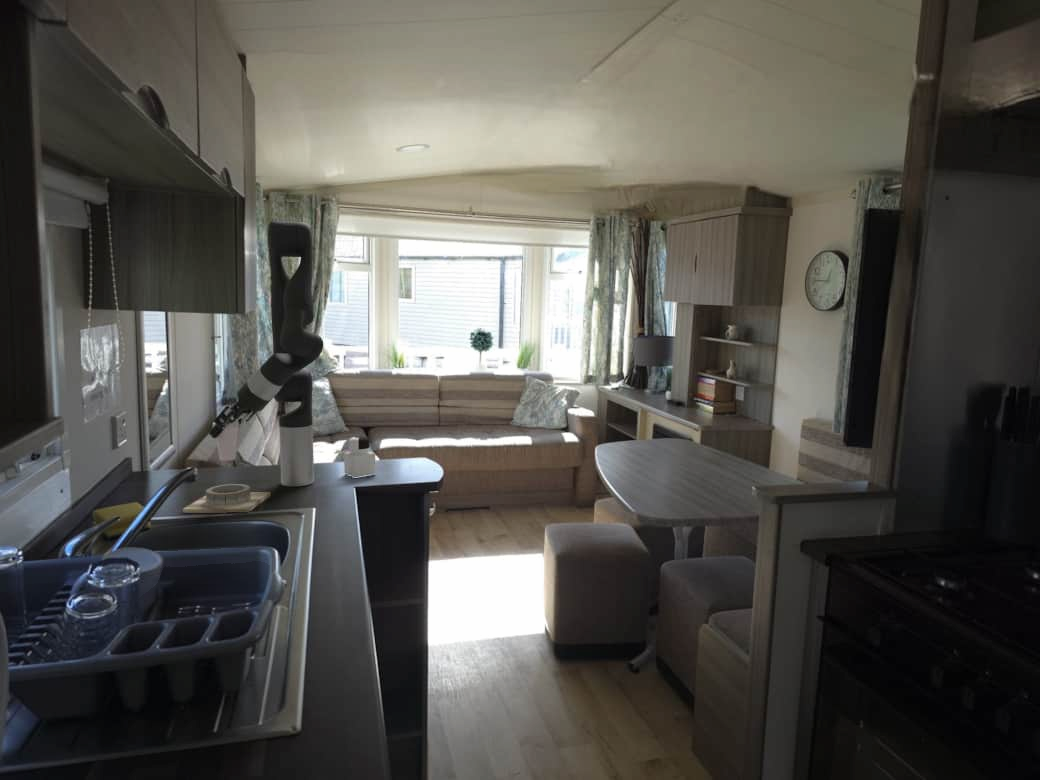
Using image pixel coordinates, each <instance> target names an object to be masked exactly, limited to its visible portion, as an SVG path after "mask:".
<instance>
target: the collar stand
mask: <svg viewBox="0 0 1040 780" xmlns="http://www.w3.org/2000/svg"><path fill="white" fill-rule="evenodd" d="M271 496H272V495H271V492H270V491H264V492H261V491H258V492H257V491H255V492H254V491H253V492H252V491H251V487H250V485H248V484H243V483H227V484H220V485H216V486H215V485H214V486H211V487H209V488H207V489H205V495H204V496H202V497H200V498H198V499H197V500H195V501H193V502H192V503H190V504H189V505H187V506H185V507H184V508H182V513H183V514H228V513H227V512H248V513H250V512H251V511H252V510H255V508H257V506H259V505H260V504H262V503H263V502H264V501H266V500H267V499H269V498H270V497H271ZM249 511H250V512H249Z"/></svg>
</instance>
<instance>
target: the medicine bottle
mask: <svg viewBox="0 0 1040 780" xmlns="http://www.w3.org/2000/svg"><path fill="white" fill-rule="evenodd" d="M348 440H349V441H348V444H349V451H345V452H344V453H343V462H344V463H343V469H344V472H343V473H346V474H348V475H351V476H353V477H359V476H364V475H369V474H374V473H376V453H374V452H372V451H370V449H371V448H370V438H369V437H367V436H365V435H364V436H363V435H361V436H353V437H350V438H349V439H348Z"/></svg>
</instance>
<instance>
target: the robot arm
mask: <svg viewBox="0 0 1040 780" xmlns="http://www.w3.org/2000/svg"><path fill="white" fill-rule="evenodd" d="M267 246H268V255H269V256H268V258H269V269H270V270H269V271H270V284H271V286H270V287H271V288H270V289H271V290H270V291H271V293H270V294H271V297H270V298H271V299H270V303H271V304H270V305H271V309H270V311H271V333H272V349H273V350H272V351H273V353H272V354H271V356H269V358H268V359H267V360H266V361H265V362H264V363H263V364H262V366H260V367H259V369H257V370H256V371H255V372H254V373H253V374H252V375H251V376H250V377H249V378H248V379H247V380H246V381H245V382H244V383H243V385H242V386H241V387H240V388H239V390H238V391H237V392H236V396H237V400H238V401H234V403H233V404H231V407H230V406H229V405H226V406H225V407H223V409H222V410H221V411H220V413H219V414H218V415H217V416H216V418H215V419H214V420H213V423H215V424H216V425H215V426H214V427H212V428H211V429H210V430H209V431H208V433H209V436H211V437H212V438H213V439H216V438H217V437H218V436H219V435H220V434H221V432H222V431H223V430H224V429H225V428H226V427H227V426H229V425H230V424H234V423H235V422H237V421H238V422H239V426H238V428H239V427H240V426H241V425H243V424H245V422H246V423H247V422H249V421H250V420H251V419H252V418H253V417H254V416H255V415H256V414H257V413H258V412H262V411H263V410H264V409H265V408H266V406H267V405H268V404H269V403H270V402H271V401H272V400H273V399H274V400H275V402H278V403H300V405H299V406H298V407H296V408H295V409H293V410H291V411H290V412H287V413H284V414H282V415H280V417H279V419H278V427H279V431H278V432H279V454H280V455H279V457H280V483H281V484H280V485H281V486H283V487H305V486H309V485H312V484H314V483H315V462H314V461H315V459H314V431H313V428H314V427H313V425H314V424H313V377H312V373H311V372H310V370H307V369H304V368H306V367H307V366H309V365H311V364H312V363H313V362H315V361H316V360H317V359H318V358H319V357H320V355H321V353H322V351H323V349H324V341H323V338H322V337H321V336H320V335H319V334H317V333H315V332H312V331H310V330H308V329H307V326H309V325H311V324H312V323H313V321H314V318H315V317H314V316H315V312H314V303H313V301H314V300H313V294H312V293H313V292H312V290H313V289H312V288H313V287H312V284H313V283H312V281H313V280H312V279H313V249H314V248H313V234H312V229H311V226H310V225H309V224H308V223H306V222H301V221H284V220H282V221H281V220H272V221H270V222H269V224H268V228H267ZM283 257H284V258H300V259H299V264H298V266H297V269H296V270H295V272H294V273H293V275H292V276H291V278H290V277H289V275H288V273H287V271H286V269H285V267H284V265H283V260H282V259H283ZM232 418H233V419H232Z"/></svg>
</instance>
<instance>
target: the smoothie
mask: <svg viewBox="0 0 1040 780" xmlns="http://www.w3.org/2000/svg"><path fill="white" fill-rule="evenodd" d="M215 425H216V424H215V423H214V422H212V428H213V427H214V426H215ZM238 426H239V422H238V421H237V422H235V423H234V424H230V425H229V426H227V427H226V428H225V429H224V430H223V431H222V432H221V434H220V435H219V436H218V437H217V438H215V440H216V442H215V443H216V447H217V452H218V457H219V461H220V462H221V461H222V462H223V461H224V462H228V461H229V462H230V461H234V460H235V459H236V453H237V442H238V431H239V427H240V426H239V427H238Z"/></svg>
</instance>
